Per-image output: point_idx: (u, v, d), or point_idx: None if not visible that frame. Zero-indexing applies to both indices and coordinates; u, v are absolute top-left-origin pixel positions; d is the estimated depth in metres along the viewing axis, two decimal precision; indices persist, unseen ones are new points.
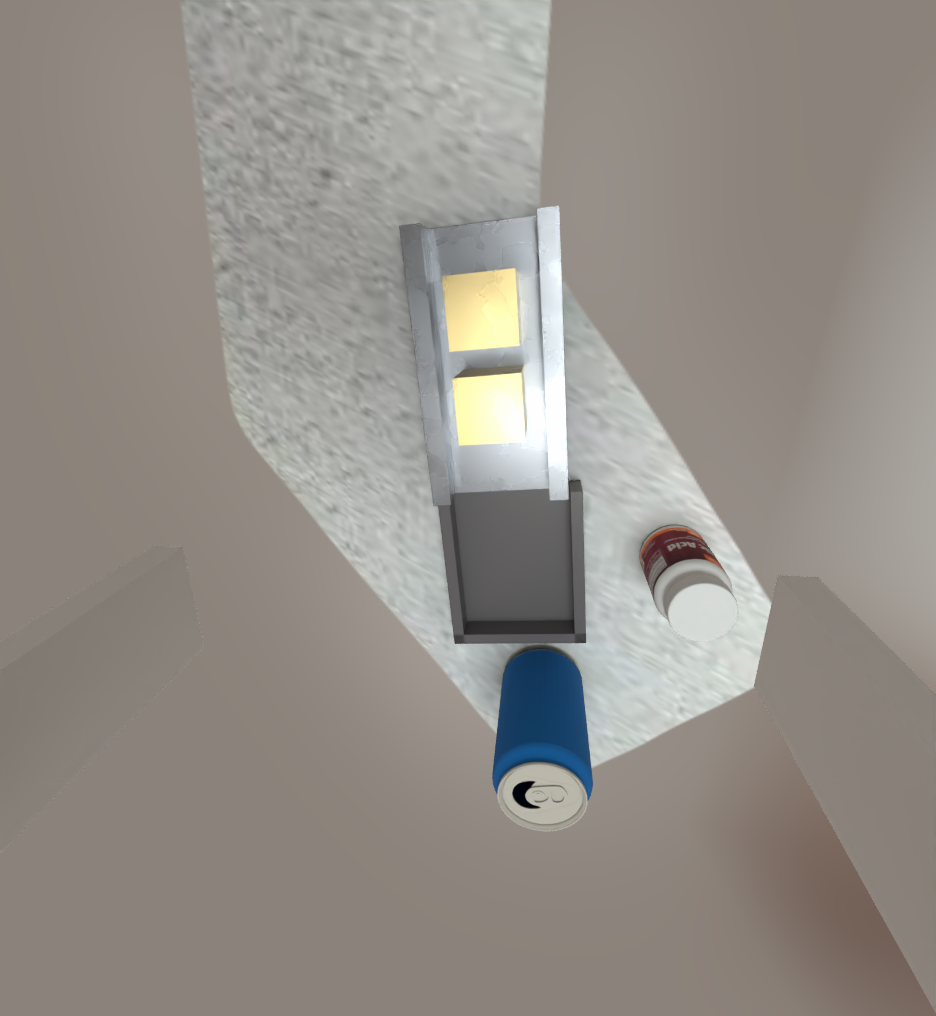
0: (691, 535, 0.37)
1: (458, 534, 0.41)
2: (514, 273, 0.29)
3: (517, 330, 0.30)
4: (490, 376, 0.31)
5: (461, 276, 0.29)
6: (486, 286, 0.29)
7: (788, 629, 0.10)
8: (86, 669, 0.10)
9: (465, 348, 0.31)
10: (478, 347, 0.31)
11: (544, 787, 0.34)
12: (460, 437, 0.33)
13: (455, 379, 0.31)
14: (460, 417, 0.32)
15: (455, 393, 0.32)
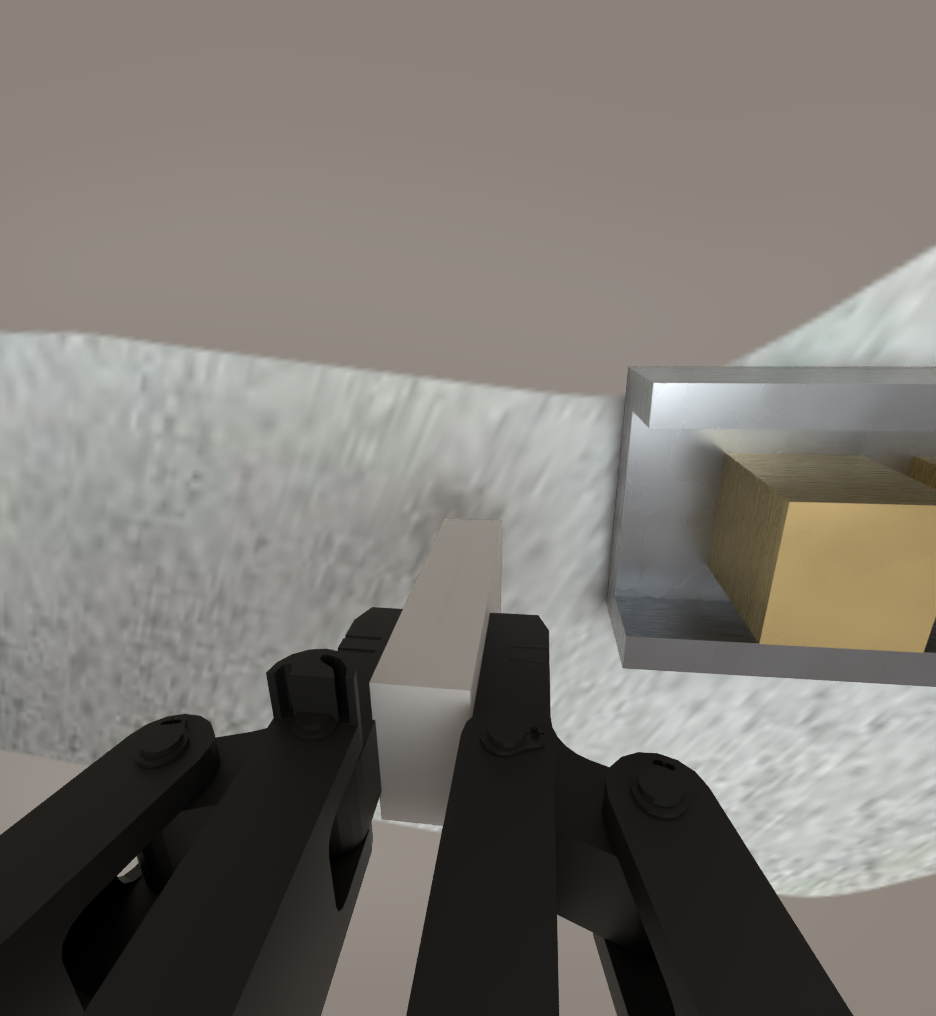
0: None
1: None
2: (799, 502, 0.13)
3: (933, 508, 0.13)
4: None
5: (771, 608, 0.14)
6: (810, 563, 0.13)
7: None
8: None
9: (929, 621, 0.13)
10: None
11: None
12: None
13: None
14: None
15: None
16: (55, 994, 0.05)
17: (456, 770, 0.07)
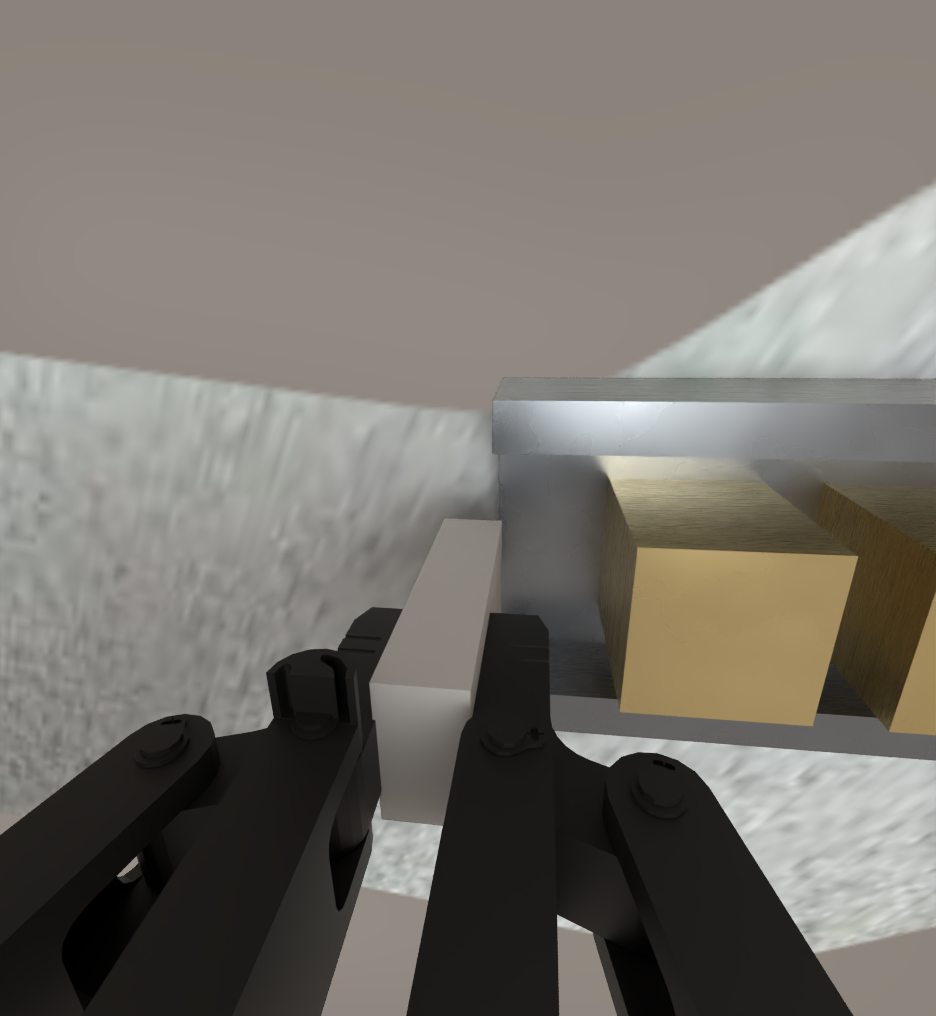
0: None
1: None
2: (650, 548, 0.11)
3: (810, 557, 0.10)
4: (923, 641, 0.10)
5: (629, 671, 0.12)
6: (669, 619, 0.11)
7: None
8: None
9: (816, 690, 0.11)
10: (825, 659, 0.11)
11: None
12: None
13: (895, 725, 0.11)
14: None
15: None
16: (55, 994, 0.05)
17: (456, 770, 0.07)
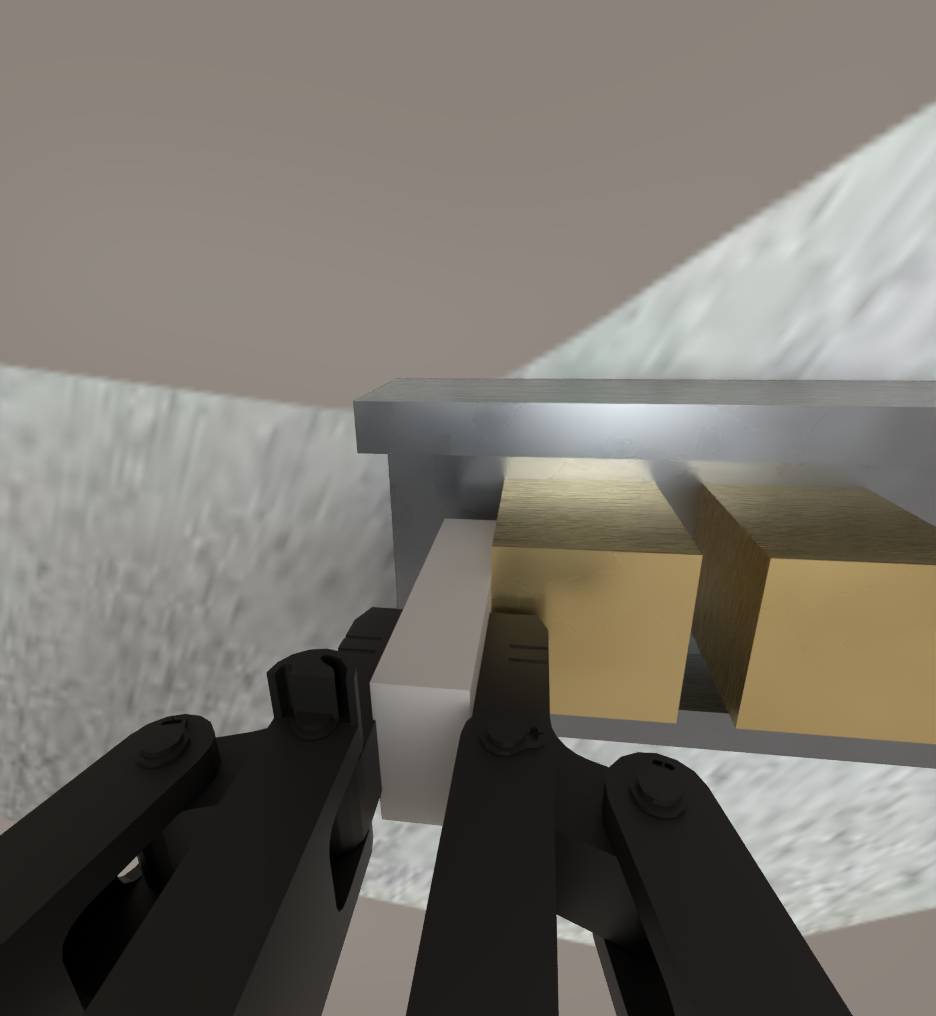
0: None
1: None
2: (504, 547, 0.11)
3: (657, 556, 0.10)
4: (757, 639, 0.11)
5: None
6: None
7: None
8: None
9: (676, 687, 0.11)
10: (681, 657, 0.11)
11: None
12: (918, 737, 0.11)
13: (740, 721, 0.11)
14: (855, 727, 0.11)
15: (780, 728, 0.11)
16: (55, 994, 0.05)
17: (455, 770, 0.07)
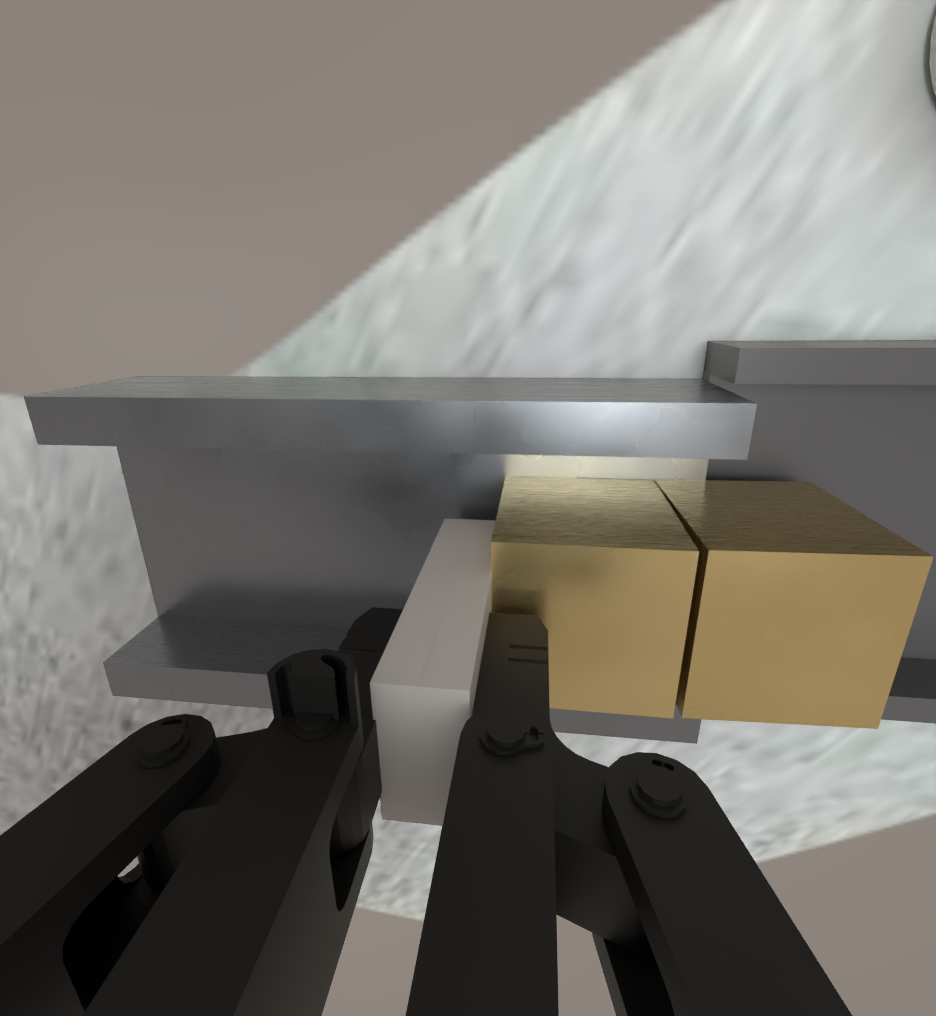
0: None
1: None
2: (503, 543, 0.11)
3: (654, 552, 0.10)
4: (699, 630, 0.11)
5: None
6: (528, 613, 0.11)
7: None
8: None
9: (673, 682, 0.11)
10: (678, 653, 0.11)
11: None
12: (854, 722, 0.11)
13: (686, 711, 0.12)
14: (795, 714, 0.11)
15: (724, 716, 0.12)
16: (56, 994, 0.05)
17: (455, 770, 0.07)
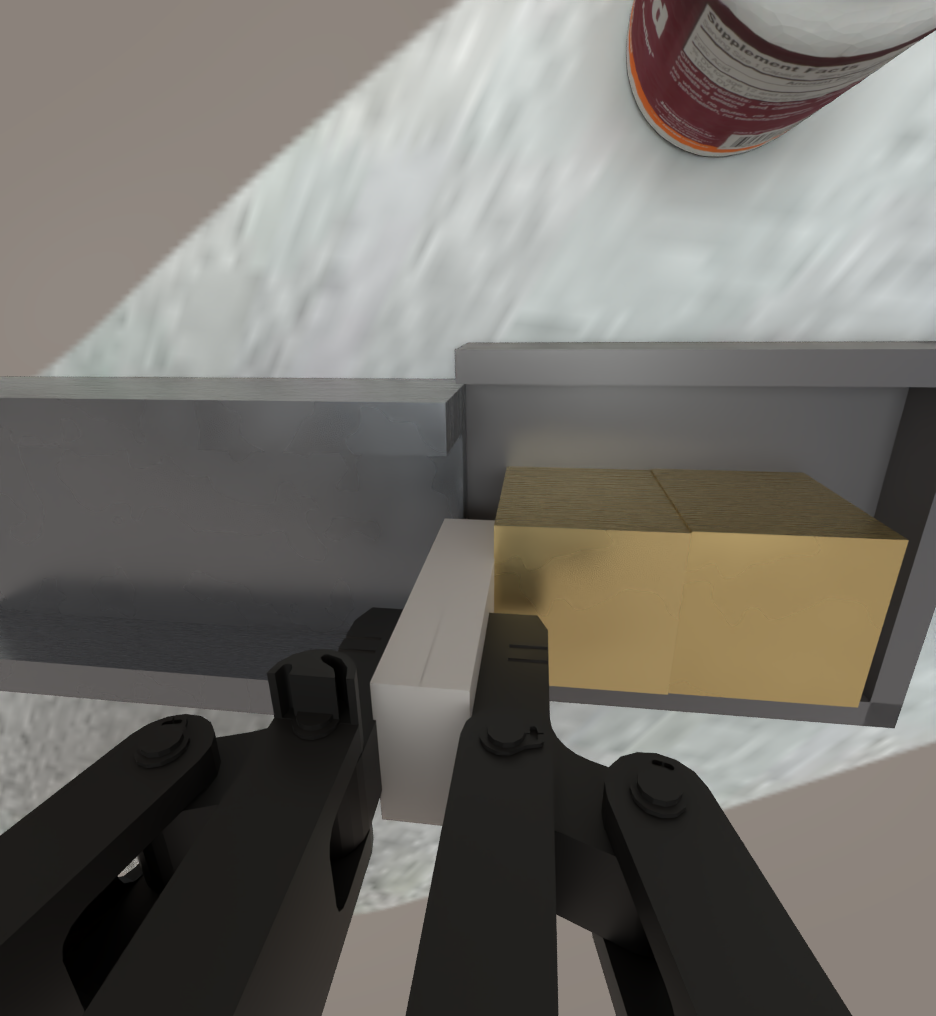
0: None
1: None
2: (506, 527, 0.11)
3: (649, 534, 0.11)
4: (683, 608, 0.11)
5: None
6: (529, 593, 0.12)
7: None
8: None
9: (667, 660, 0.12)
10: (672, 631, 0.12)
11: None
12: (835, 700, 0.12)
13: (672, 687, 0.12)
14: (777, 691, 0.12)
15: (708, 692, 0.12)
16: (56, 994, 0.05)
17: (455, 770, 0.07)
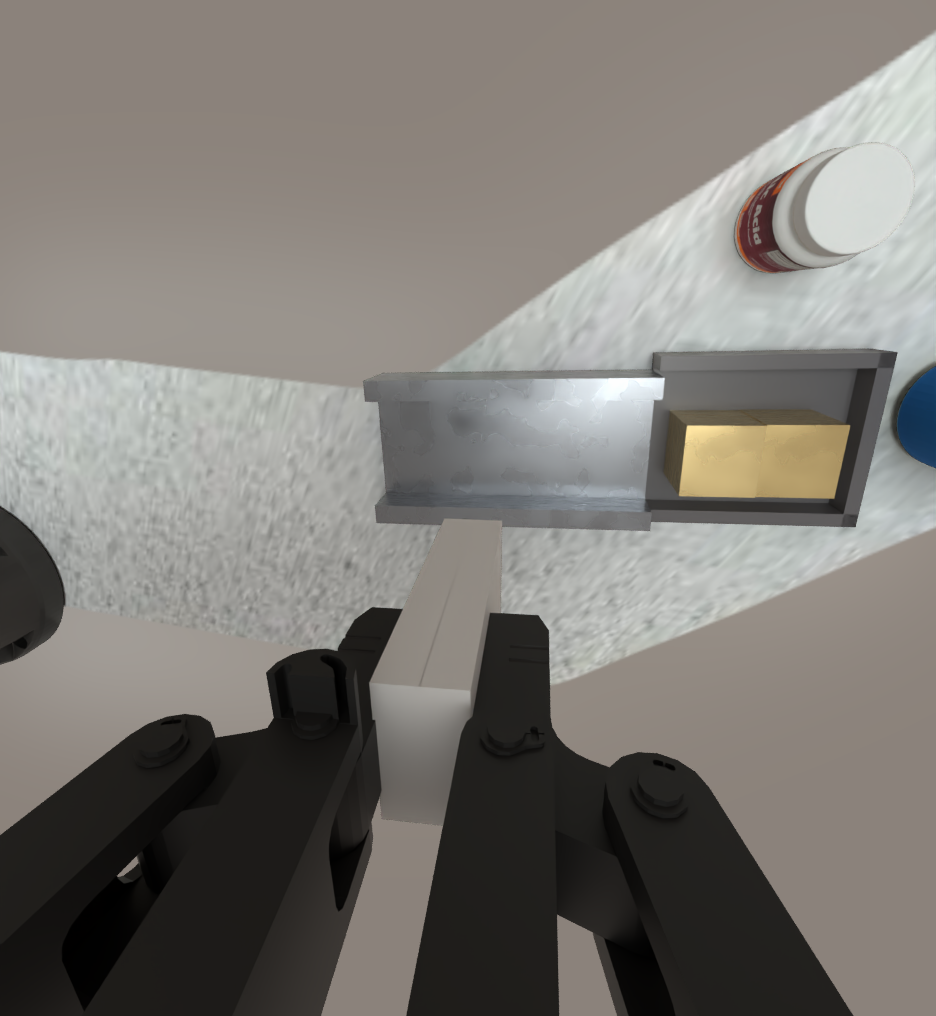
0: (749, 206, 0.28)
1: (700, 499, 0.35)
2: (691, 426, 0.29)
3: (750, 426, 0.28)
4: (763, 457, 0.29)
5: (683, 477, 0.30)
6: (698, 454, 0.29)
7: None
8: None
9: (755, 481, 0.29)
10: (757, 468, 0.29)
11: None
12: (824, 495, 0.29)
13: (757, 493, 0.30)
14: (801, 493, 0.29)
15: (772, 495, 0.29)
16: (55, 994, 0.05)
17: (456, 770, 0.07)
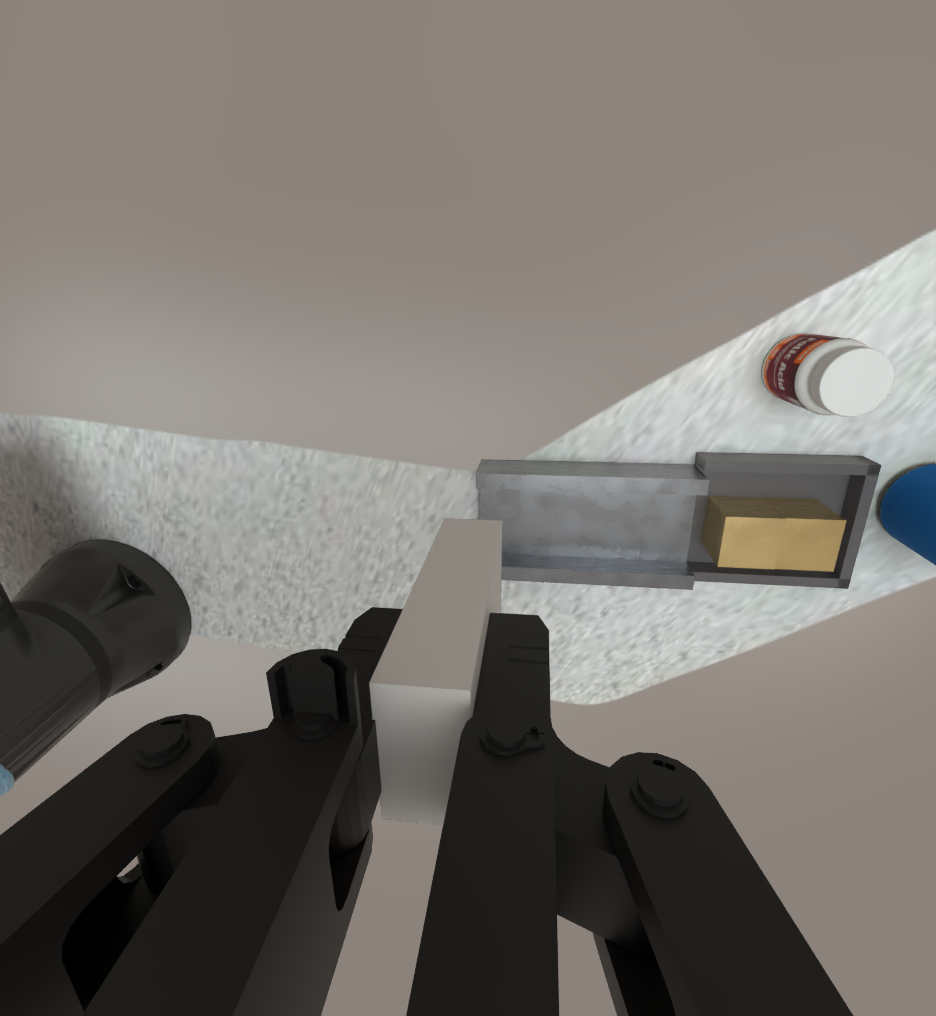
0: (775, 357, 0.38)
1: None
2: (729, 517, 0.39)
3: (773, 519, 0.38)
4: (781, 541, 0.39)
5: (721, 553, 0.40)
6: (734, 537, 0.39)
7: None
8: None
9: (775, 557, 0.39)
10: (777, 548, 0.39)
11: None
12: (826, 569, 0.39)
13: (776, 566, 0.39)
14: (809, 567, 0.39)
15: (787, 568, 0.39)
16: (56, 992, 0.05)
17: (456, 770, 0.07)
